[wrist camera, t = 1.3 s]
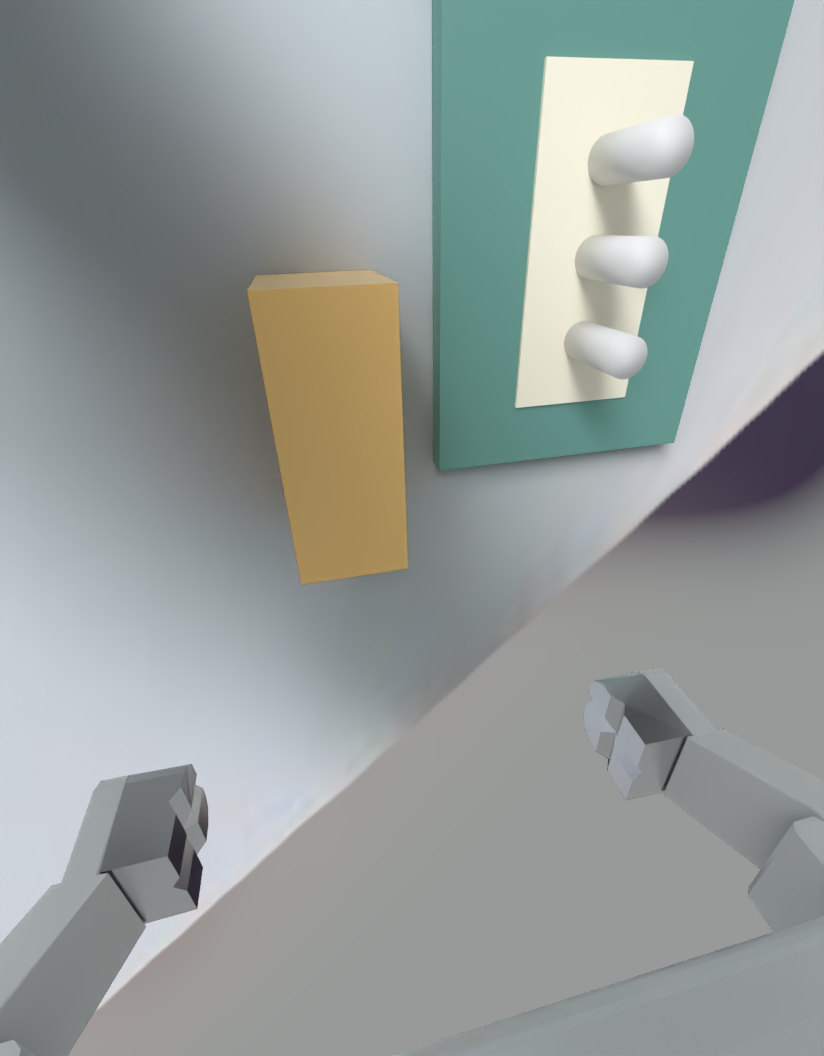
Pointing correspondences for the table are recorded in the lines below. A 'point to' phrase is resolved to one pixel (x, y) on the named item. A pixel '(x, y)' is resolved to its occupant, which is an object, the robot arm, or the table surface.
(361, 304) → the block
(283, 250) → the table surface
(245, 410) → the table surface
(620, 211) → the board
